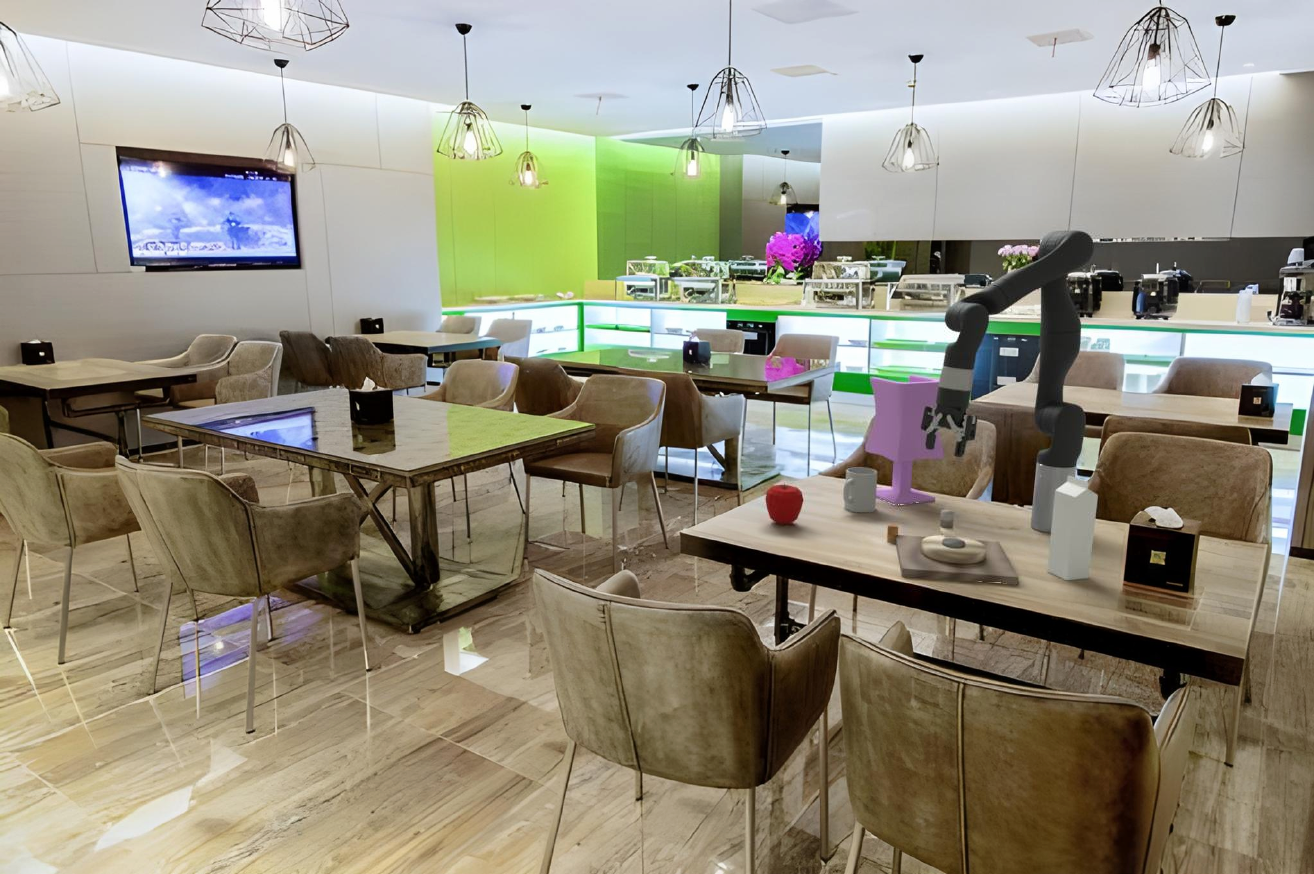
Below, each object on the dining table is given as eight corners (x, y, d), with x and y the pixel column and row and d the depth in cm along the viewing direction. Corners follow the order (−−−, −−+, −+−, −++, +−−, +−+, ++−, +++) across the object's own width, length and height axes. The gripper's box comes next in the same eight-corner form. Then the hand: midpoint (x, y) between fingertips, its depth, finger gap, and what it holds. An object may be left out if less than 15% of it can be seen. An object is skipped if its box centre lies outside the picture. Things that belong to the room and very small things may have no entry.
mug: (855, 502, 243) (857, 465, 241) (881, 508, 237) (883, 470, 235) (830, 510, 235) (832, 472, 233) (857, 517, 229) (859, 478, 227)
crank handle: (990, 565, 187) (992, 540, 186) (924, 561, 190) (925, 535, 188) (974, 534, 208) (976, 511, 207) (915, 530, 211) (917, 507, 210)
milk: (1066, 581, 184) (1076, 483, 179) (1046, 571, 190) (1055, 476, 185) (1089, 578, 186) (1100, 480, 181) (1068, 568, 191) (1078, 474, 187)
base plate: (996, 546, 206) (998, 530, 205) (1017, 585, 181) (1019, 567, 181) (886, 538, 211) (887, 523, 211) (892, 575, 187) (893, 558, 186)
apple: (764, 528, 219) (765, 487, 217) (764, 517, 229) (765, 478, 227) (803, 529, 218) (804, 488, 216) (801, 518, 228) (803, 479, 225)
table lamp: (906, 488, 258) (914, 374, 251) (940, 501, 244) (949, 381, 237) (862, 493, 253) (869, 376, 246) (894, 507, 239) (902, 384, 232)
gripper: (990, 392, 199) (978, 459, 202) (941, 383, 211) (930, 446, 213) (969, 391, 195) (957, 459, 198) (921, 381, 207) (910, 446, 209)
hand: (943, 452), depth 205 cm, fingers open, 8 cm apart
